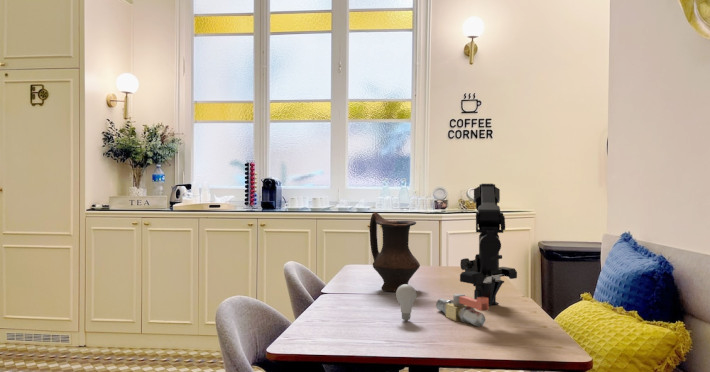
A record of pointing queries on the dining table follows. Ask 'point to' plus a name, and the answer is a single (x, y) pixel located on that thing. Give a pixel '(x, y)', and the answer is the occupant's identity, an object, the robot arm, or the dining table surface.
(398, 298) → the lightbulb
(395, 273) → the jug
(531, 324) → the dining table surface
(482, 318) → the valve
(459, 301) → the lever
